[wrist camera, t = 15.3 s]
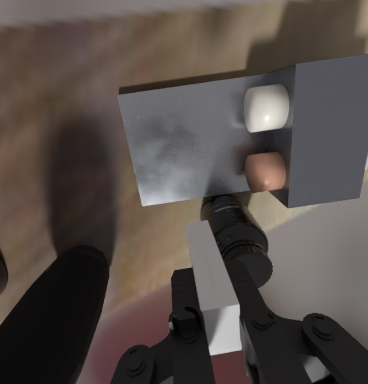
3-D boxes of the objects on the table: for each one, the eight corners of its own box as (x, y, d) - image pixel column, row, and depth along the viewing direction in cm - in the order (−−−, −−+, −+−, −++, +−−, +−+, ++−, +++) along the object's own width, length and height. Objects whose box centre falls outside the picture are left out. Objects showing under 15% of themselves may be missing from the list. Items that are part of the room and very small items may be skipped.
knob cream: (244, 130, 25) (258, 134, 21) (243, 89, 24) (258, 86, 20) (352, 114, 26) (387, 116, 21) (359, 72, 24) (397, 66, 20)
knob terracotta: (245, 185, 28) (258, 198, 24) (244, 151, 26) (258, 160, 22) (343, 170, 28) (373, 182, 24) (349, 136, 27) (381, 142, 22)
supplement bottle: (223, 183, 30) (255, 229, 19) (254, 212, 32) (299, 270, 21) (189, 215, 31) (199, 276, 20) (220, 241, 33) (245, 309, 22)
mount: (143, 203, 30) (135, 230, 24) (118, 95, 25) (100, 91, 18) (318, 178, 30) (359, 197, 24) (331, 64, 25) (387, 50, 19)
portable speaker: (44, 248, 32) (-120, 434, 14) (106, 237, 32) (22, 410, 14) (65, 291, 35) (-46, 487, 17) (122, 281, 35) (70, 468, 17)
